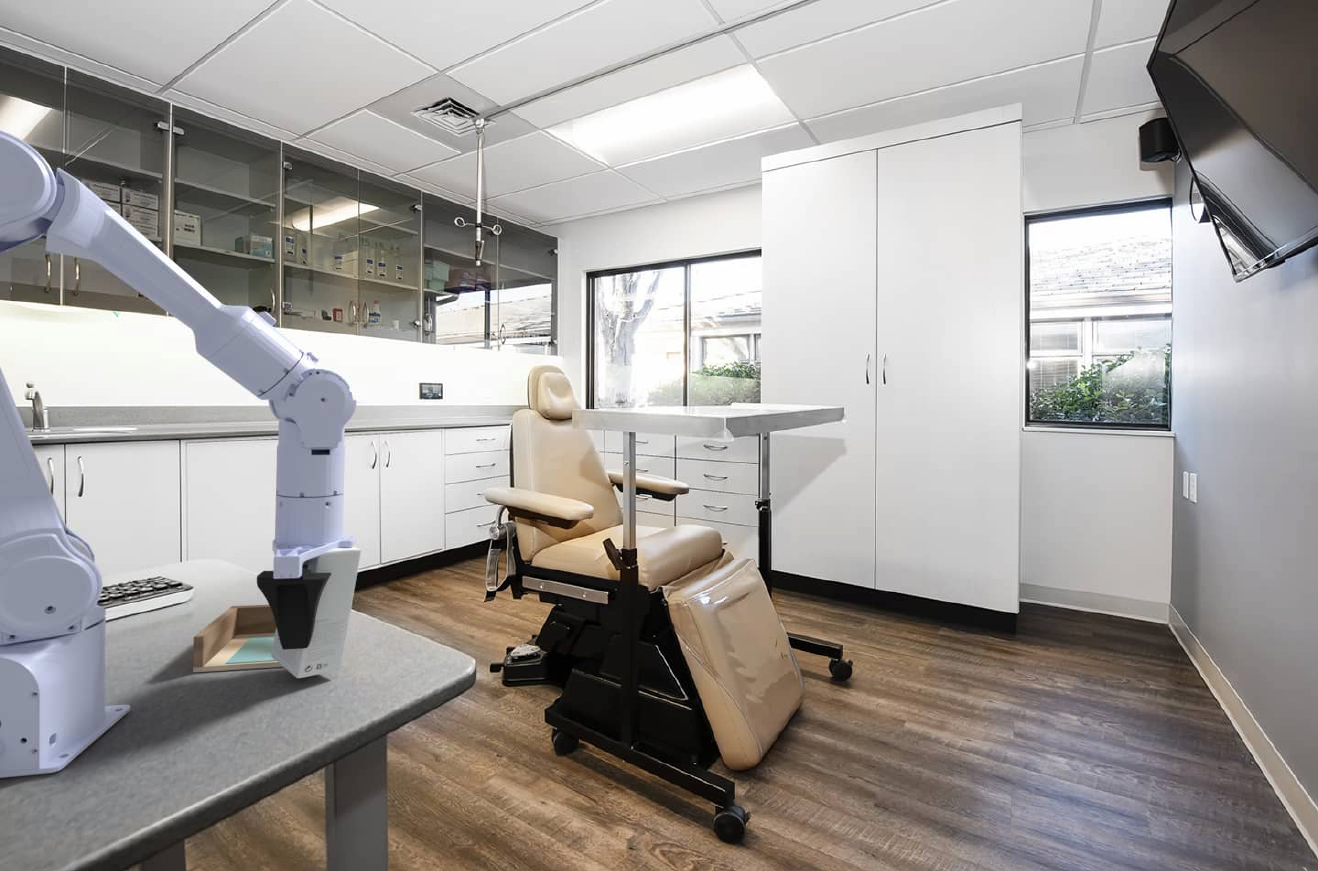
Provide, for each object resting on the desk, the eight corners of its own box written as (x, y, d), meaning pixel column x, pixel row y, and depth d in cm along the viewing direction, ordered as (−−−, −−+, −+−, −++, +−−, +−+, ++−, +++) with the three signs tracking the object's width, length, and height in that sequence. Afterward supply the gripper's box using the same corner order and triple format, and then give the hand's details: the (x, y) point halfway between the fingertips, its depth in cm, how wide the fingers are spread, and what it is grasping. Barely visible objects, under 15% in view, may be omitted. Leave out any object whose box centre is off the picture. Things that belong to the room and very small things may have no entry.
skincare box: (342, 670, 60) (363, 549, 60) (296, 680, 57) (318, 552, 57) (314, 649, 64) (333, 534, 64) (268, 656, 61) (289, 536, 61)
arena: (319, 664, 63) (320, 630, 63) (193, 672, 60) (193, 636, 60) (340, 631, 72) (340, 601, 72) (231, 637, 69) (232, 606, 69)
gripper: (339, 505, 54) (335, 659, 54) (369, 484, 68) (365, 607, 68) (246, 505, 52) (243, 664, 53) (296, 484, 66) (294, 610, 66)
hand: (307, 632), depth 60 cm, fingers closed on skincare box, 7 cm apart
